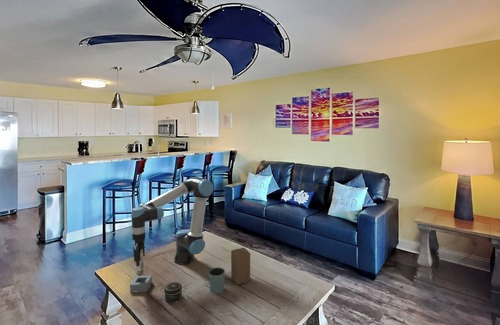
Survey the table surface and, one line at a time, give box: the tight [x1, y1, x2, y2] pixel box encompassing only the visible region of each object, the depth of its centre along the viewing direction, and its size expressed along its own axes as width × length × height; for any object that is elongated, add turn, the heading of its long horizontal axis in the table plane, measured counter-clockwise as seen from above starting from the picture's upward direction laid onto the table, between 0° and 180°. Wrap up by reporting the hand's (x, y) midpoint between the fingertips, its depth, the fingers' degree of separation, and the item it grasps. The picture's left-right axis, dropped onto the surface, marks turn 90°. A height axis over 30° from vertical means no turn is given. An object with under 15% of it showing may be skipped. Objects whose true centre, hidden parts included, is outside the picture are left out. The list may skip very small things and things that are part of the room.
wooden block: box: [230, 247, 251, 285], centre depth 178 cm, size 10×10×20 cm
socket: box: [129, 275, 153, 293], centre depth 170 cm, size 10×10×5 cm
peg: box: [136, 249, 144, 276], centre depth 168 cm, size 4×4×16 cm
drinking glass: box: [208, 267, 226, 294], centre depth 168 cm, size 10×10×12 cm
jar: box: [163, 281, 183, 303], centre depth 159 cm, size 10×10×8 cm
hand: (140, 268), depth 168 cm, fingers closed on peg, 4 cm apart
